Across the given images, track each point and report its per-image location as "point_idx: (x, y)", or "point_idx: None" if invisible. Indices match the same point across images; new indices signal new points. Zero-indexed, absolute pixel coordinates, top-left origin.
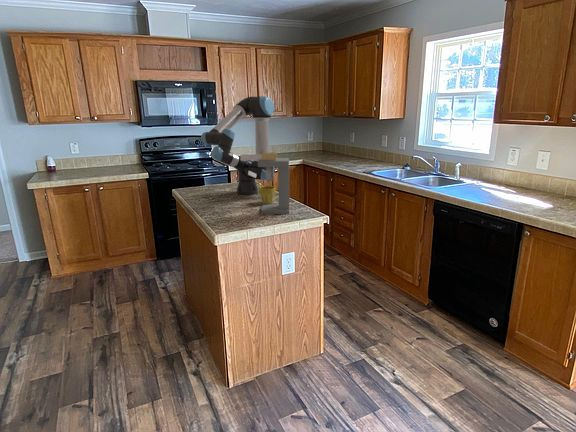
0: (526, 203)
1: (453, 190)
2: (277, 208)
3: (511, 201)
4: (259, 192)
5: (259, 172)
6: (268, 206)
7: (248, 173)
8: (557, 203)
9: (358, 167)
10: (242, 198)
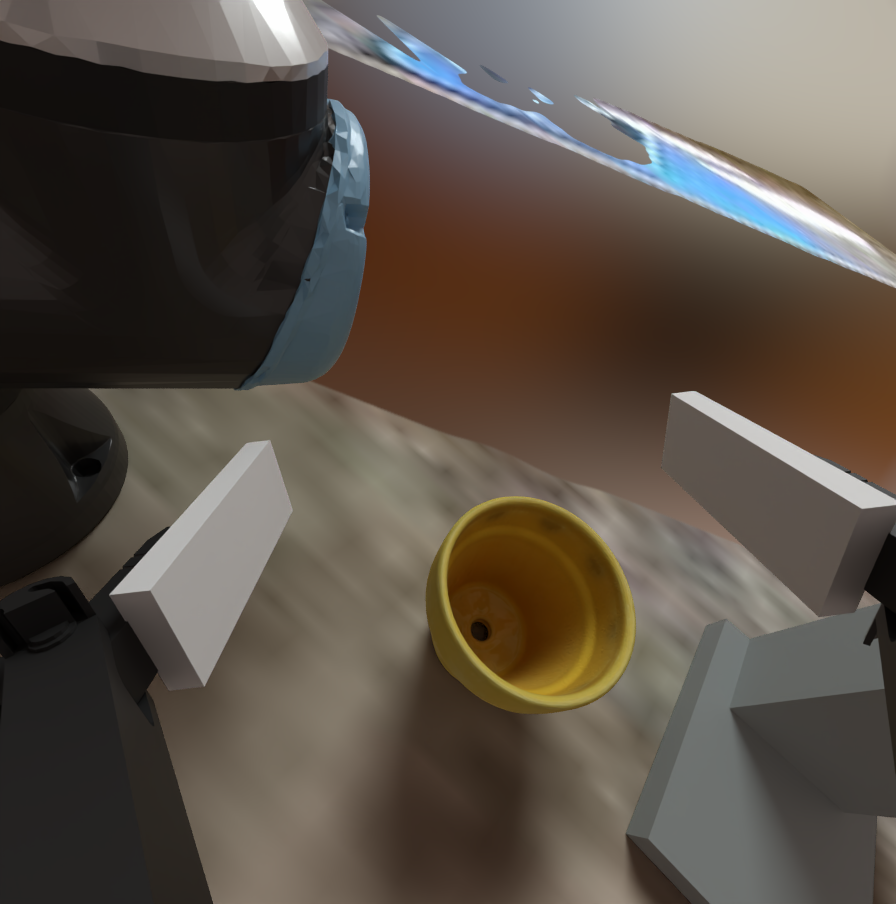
0: (836, 233)
1: (695, 182)
2: (815, 801)
3: (817, 228)
4: (492, 703)
5: (229, 337)
6: (726, 828)
7: (196, 660)
8: (844, 223)
9: None
10: None
